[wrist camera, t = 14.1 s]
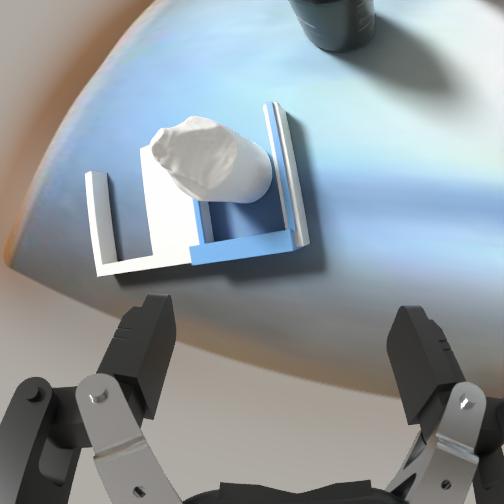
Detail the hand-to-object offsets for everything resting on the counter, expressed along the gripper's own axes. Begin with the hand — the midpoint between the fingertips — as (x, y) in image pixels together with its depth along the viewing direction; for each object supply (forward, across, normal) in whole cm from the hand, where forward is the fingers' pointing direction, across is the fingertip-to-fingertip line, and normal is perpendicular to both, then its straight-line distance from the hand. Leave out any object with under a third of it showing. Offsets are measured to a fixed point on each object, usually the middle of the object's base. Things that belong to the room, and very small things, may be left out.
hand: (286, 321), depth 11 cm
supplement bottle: (+23, -6, -13) cm, 27 cm away
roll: (+20, +3, +1) cm, 20 cm away
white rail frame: (+21, +9, +4) cm, 23 cm away
